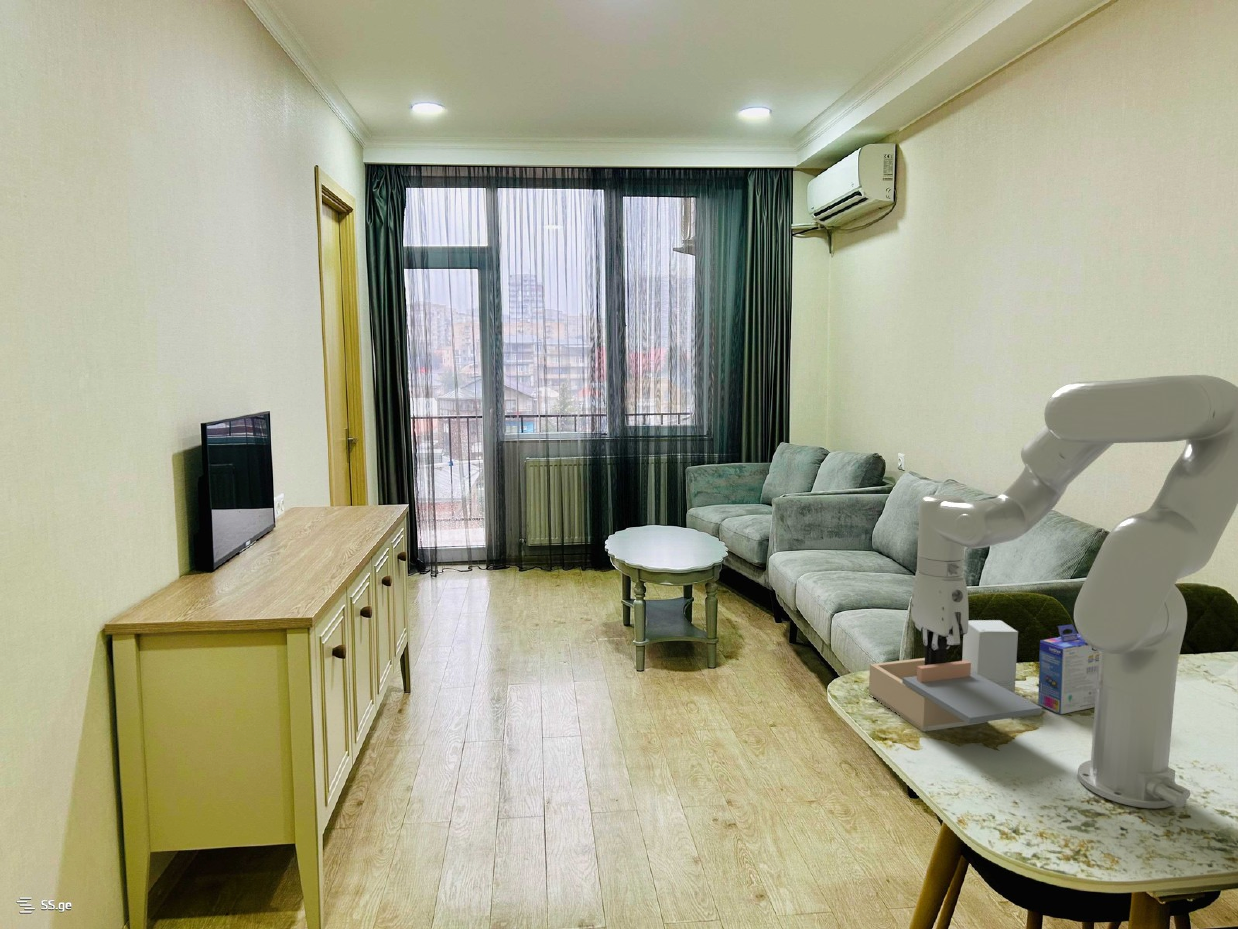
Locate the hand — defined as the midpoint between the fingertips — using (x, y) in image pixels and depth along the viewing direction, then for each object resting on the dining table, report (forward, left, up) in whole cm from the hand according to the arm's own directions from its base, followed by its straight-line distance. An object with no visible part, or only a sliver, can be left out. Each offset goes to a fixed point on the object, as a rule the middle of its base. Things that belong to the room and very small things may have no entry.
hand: (935, 668), depth 145 cm
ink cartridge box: (-4, -26, -8) cm, 27 cm away
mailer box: (+2, 0, -8) cm, 8 cm away
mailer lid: (-9, 0, -2) cm, 9 cm away
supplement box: (+6, -17, -8) cm, 19 cm away
